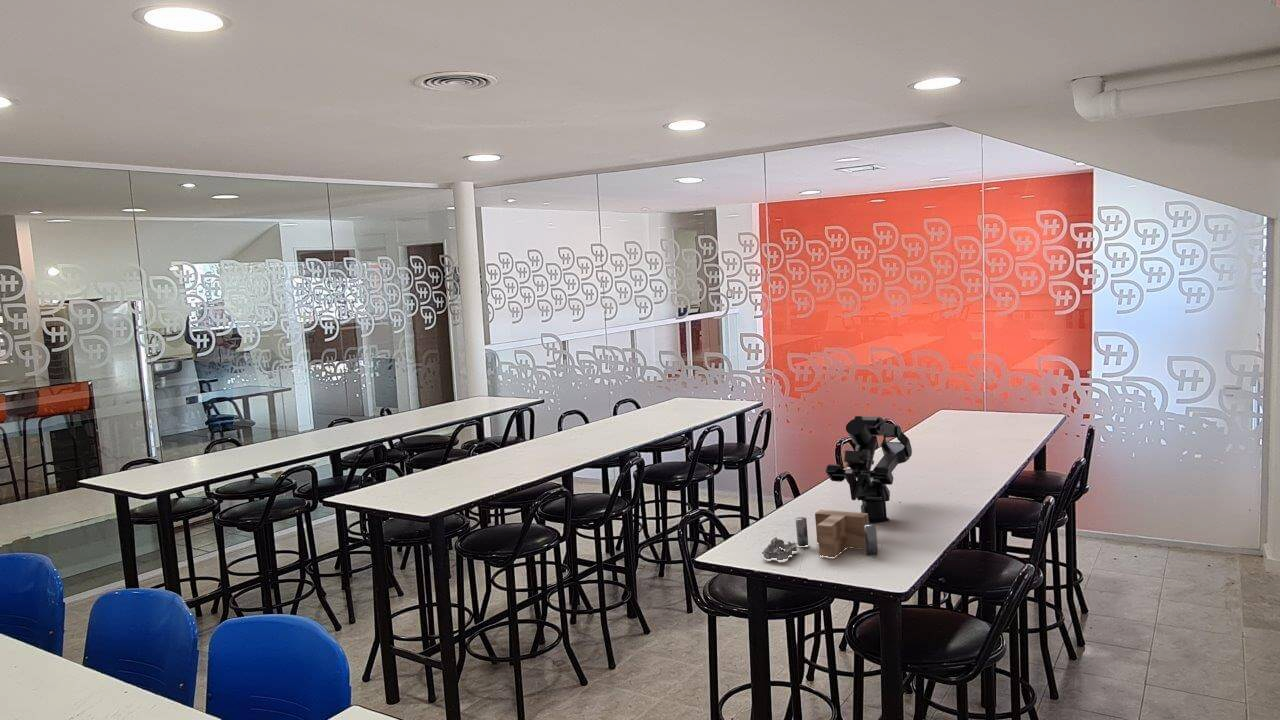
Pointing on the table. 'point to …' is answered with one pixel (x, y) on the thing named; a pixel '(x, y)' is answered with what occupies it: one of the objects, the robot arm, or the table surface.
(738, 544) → the table surface
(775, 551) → the grey jagged rock
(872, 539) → the goal posts
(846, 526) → the walnut T block
